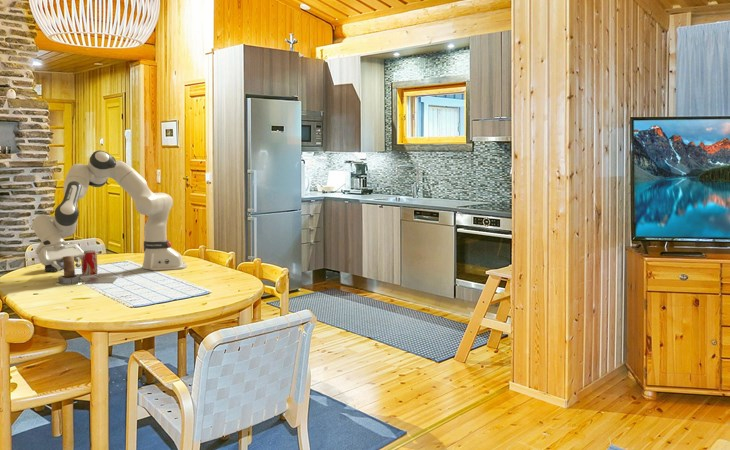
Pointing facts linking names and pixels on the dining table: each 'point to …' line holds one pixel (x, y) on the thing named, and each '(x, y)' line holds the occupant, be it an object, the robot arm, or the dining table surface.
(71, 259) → the peg
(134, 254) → the dining table surface
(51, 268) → the small box
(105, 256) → the dining table surface
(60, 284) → the ring stand
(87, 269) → the soda can
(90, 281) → the pad
